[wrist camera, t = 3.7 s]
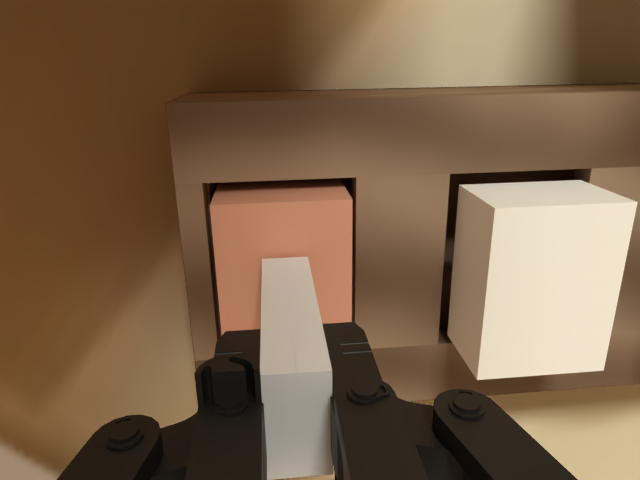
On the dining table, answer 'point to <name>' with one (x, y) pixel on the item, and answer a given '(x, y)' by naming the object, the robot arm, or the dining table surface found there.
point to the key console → (409, 200)
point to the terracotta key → (281, 244)
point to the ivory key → (537, 276)
